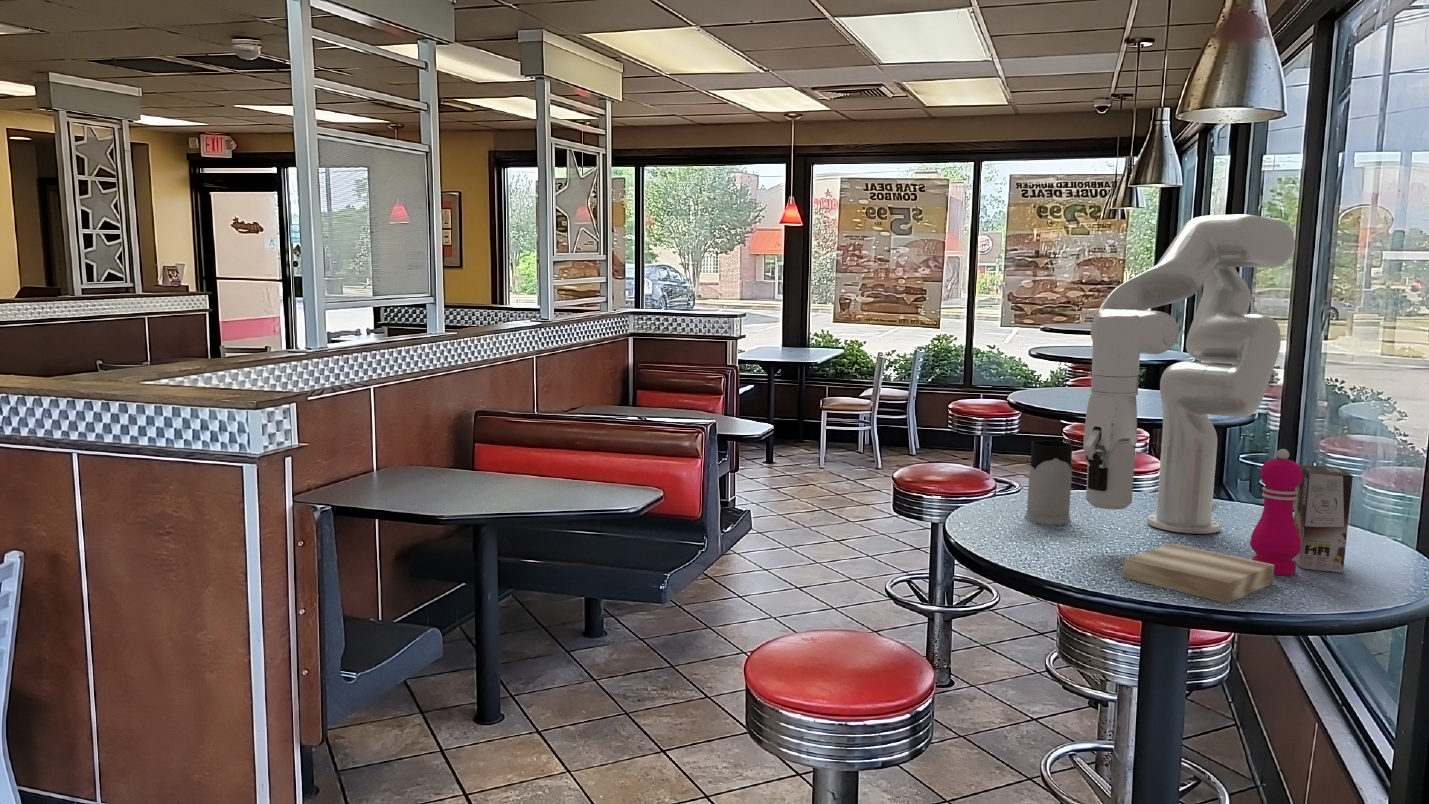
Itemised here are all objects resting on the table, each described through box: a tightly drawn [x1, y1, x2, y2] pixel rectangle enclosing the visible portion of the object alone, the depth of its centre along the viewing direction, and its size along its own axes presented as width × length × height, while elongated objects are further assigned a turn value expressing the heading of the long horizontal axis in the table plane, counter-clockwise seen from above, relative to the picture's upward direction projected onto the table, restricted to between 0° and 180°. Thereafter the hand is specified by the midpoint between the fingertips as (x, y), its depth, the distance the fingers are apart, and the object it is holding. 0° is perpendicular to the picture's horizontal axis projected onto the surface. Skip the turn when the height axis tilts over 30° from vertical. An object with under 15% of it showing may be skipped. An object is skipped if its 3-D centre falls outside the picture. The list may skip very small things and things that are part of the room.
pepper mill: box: [1249, 448, 1303, 577], centre depth 163 cm, size 7×7×20 cm
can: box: [1085, 439, 1136, 510], centre depth 174 cm, size 8×8×12 cm
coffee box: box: [1292, 464, 1354, 574], centre depth 167 cm, size 9×6×16 cm
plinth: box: [1122, 542, 1275, 604], centre depth 157 cm, size 16×16×3 cm
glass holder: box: [1024, 440, 1073, 526], centre depth 199 cm, size 9×14×15 cm, turn 174°
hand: (1109, 485), depth 175 cm, fingers closed on can, 7 cm apart
